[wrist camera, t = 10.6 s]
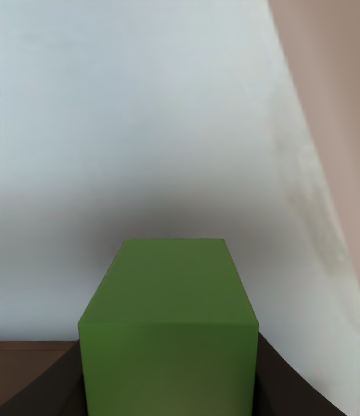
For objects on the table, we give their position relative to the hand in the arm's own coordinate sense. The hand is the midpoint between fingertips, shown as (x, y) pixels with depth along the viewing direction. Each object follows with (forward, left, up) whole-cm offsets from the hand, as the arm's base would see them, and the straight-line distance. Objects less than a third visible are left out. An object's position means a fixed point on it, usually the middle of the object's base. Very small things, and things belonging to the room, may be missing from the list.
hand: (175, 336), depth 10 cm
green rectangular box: (0, 0, -1) cm, 1 cm away
